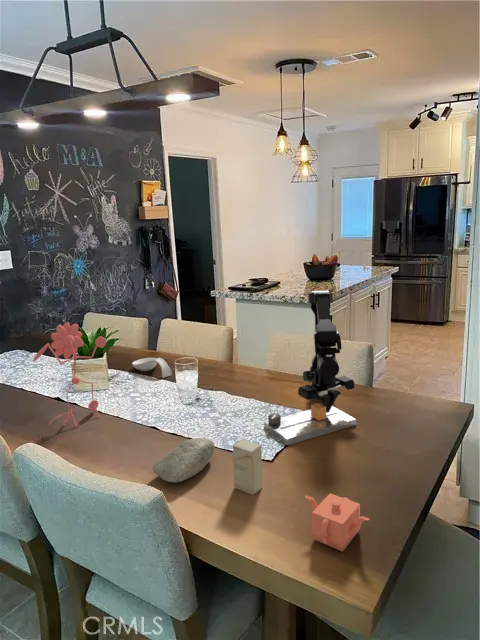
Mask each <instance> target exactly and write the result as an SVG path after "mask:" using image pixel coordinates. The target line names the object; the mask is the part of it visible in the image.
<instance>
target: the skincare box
mask: <svg viewBox="0 0 480 640" xmlns="http://www.w3.org/2000/svg"><path fill="white" fill-rule="evenodd" d="M232 457H233V458H232V460H233V463H232V464H233V486H234V489H237V490H239V491H241V492H244V493H246V494H249V495H251V496H254V495H255V494H257V492H259V491H260V490H261V489H262V488H263V474H262V473H263V472H262V471H263V468H262V466H263V464H262V461H263V460H262V444H260V443H257V442H253V441H251V440H248V439H245V438H241V439H240V440H238V441H237V442H235V443H234V444H233V445H232Z"/></svg>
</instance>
